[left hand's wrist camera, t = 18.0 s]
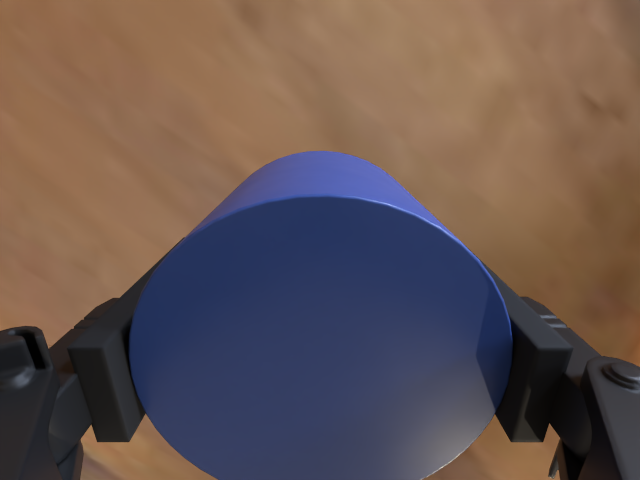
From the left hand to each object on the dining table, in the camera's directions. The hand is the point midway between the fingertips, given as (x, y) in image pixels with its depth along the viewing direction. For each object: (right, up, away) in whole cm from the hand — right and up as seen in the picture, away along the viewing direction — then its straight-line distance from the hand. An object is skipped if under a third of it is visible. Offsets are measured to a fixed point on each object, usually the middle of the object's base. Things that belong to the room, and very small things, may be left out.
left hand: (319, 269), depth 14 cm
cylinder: (0, 0, +1) cm, 1 cm away
